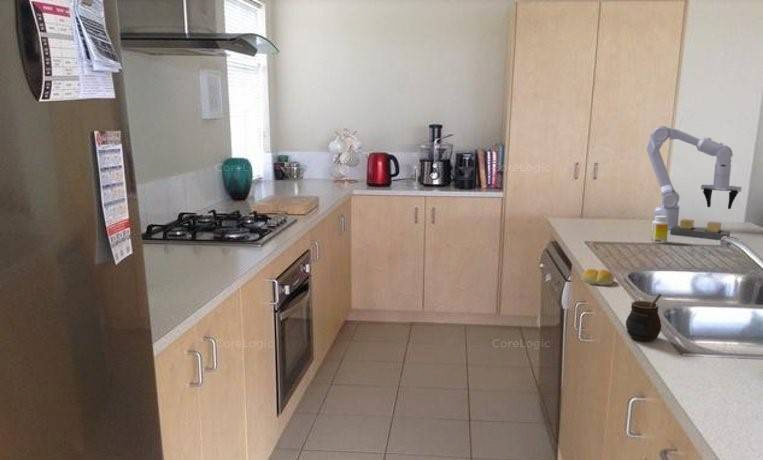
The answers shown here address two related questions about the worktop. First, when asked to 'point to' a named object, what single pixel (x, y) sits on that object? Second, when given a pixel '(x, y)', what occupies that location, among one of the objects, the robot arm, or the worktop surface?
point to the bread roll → (598, 277)
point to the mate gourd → (644, 320)
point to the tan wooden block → (714, 227)
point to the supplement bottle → (659, 230)
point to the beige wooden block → (687, 224)
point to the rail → (699, 233)
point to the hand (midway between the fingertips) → (719, 207)
